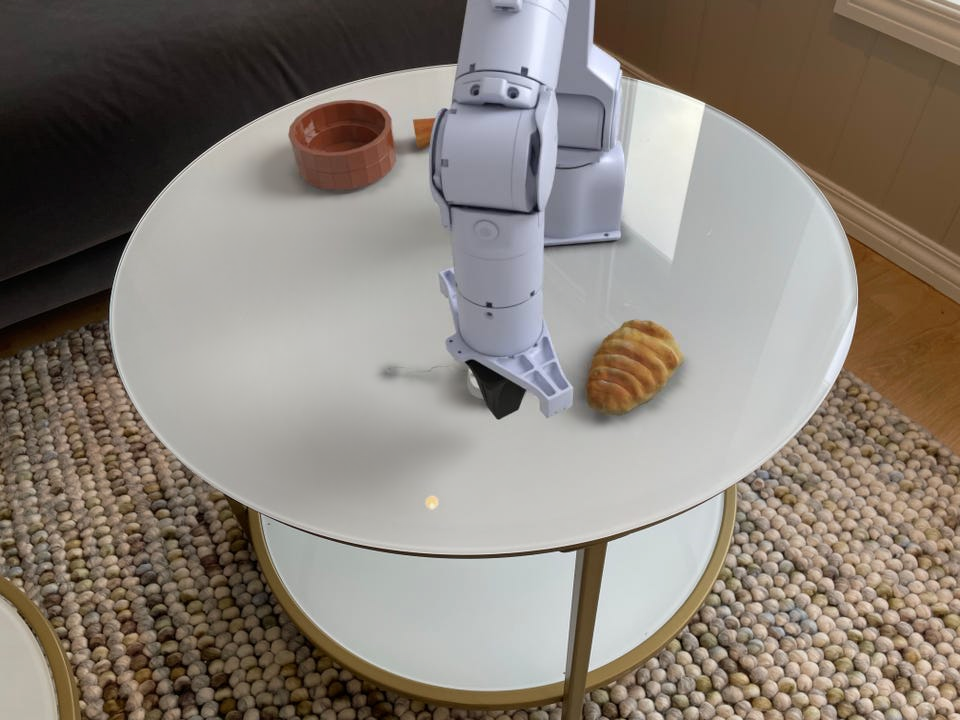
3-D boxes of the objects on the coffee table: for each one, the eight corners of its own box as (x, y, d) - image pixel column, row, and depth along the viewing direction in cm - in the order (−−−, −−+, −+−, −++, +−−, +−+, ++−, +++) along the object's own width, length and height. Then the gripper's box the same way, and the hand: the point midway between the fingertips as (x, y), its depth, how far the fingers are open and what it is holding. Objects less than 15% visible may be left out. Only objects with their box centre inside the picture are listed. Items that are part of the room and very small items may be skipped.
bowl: (397, 134, 94) (391, 96, 90) (396, 190, 87) (390, 151, 83) (302, 141, 94) (293, 103, 90) (294, 198, 86) (283, 159, 83)
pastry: (635, 436, 63) (640, 406, 60) (563, 401, 66) (564, 371, 63) (686, 363, 68) (693, 332, 65) (617, 333, 70) (620, 302, 68)
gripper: (393, 240, 53) (415, 370, 64) (505, 374, 45) (509, 500, 55) (482, 204, 56) (489, 336, 66) (605, 326, 47) (591, 456, 57)
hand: (503, 408), depth 60 cm, fingers closed
